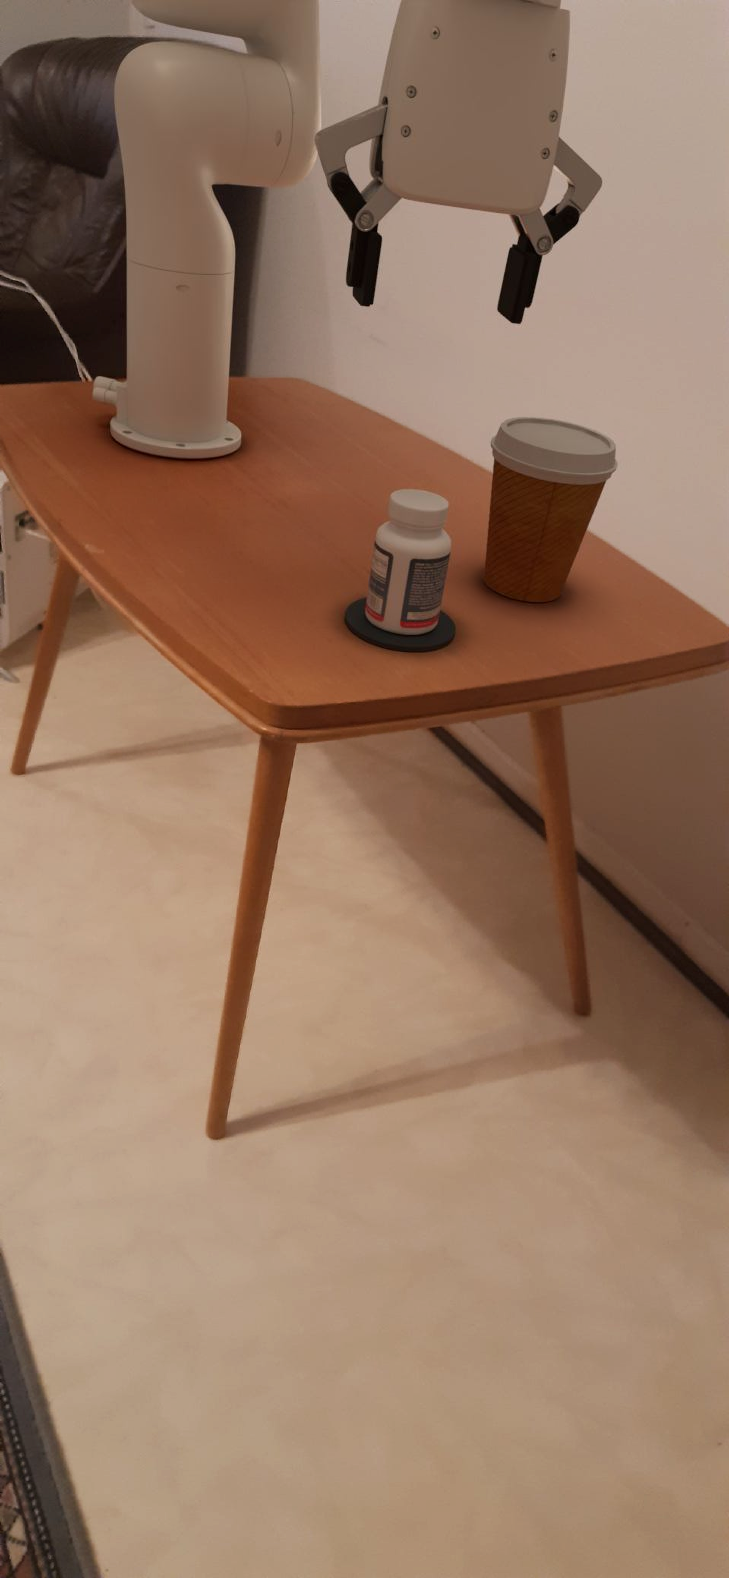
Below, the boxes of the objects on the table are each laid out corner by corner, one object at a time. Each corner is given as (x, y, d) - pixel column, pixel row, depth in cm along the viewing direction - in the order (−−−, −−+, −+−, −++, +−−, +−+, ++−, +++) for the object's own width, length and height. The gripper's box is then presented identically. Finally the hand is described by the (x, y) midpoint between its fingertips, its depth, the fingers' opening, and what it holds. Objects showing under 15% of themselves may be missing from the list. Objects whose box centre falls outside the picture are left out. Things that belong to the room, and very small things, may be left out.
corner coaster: (328, 633, 71) (329, 627, 71) (364, 591, 77) (364, 586, 77) (439, 662, 69) (440, 657, 69) (465, 617, 76) (467, 613, 76)
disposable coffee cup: (493, 551, 87) (524, 407, 81) (597, 587, 84) (639, 440, 77) (443, 584, 80) (472, 429, 74) (554, 624, 77) (596, 466, 70)
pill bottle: (445, 615, 75) (468, 497, 70) (425, 644, 71) (448, 520, 66) (377, 597, 76) (395, 479, 71) (353, 624, 72) (371, 501, 67)
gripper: (617, -6, 59) (544, 311, 69) (324, -67, 55) (291, 281, 65) (673, -6, 53) (584, 340, 63) (351, -73, 49) (310, 309, 59)
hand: (436, 310), depth 64 cm, fingers open, 9 cm apart
